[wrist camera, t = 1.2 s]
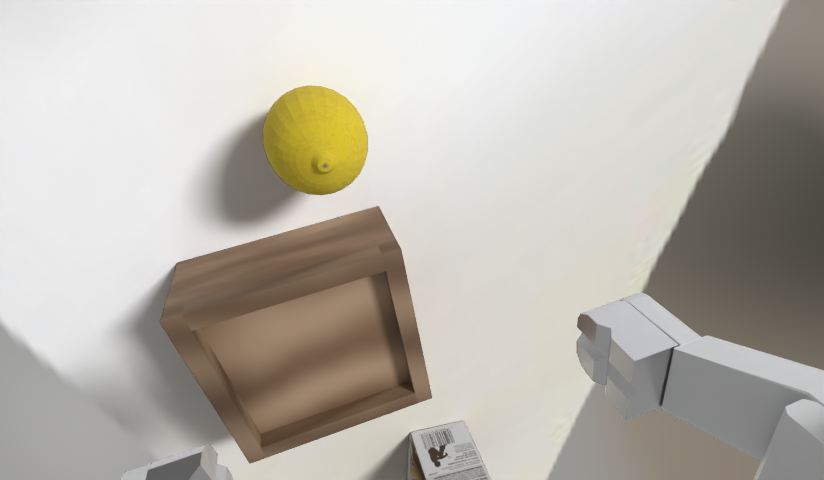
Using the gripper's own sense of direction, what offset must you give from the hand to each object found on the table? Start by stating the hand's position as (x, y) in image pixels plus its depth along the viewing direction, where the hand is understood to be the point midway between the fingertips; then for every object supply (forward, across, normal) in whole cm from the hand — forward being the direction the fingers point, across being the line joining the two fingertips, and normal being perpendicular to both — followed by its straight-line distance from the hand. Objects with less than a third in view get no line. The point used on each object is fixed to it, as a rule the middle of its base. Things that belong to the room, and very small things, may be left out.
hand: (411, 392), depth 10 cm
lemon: (+22, 0, 0) cm, 22 cm away
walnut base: (+22, +4, +14) cm, 26 cm away
